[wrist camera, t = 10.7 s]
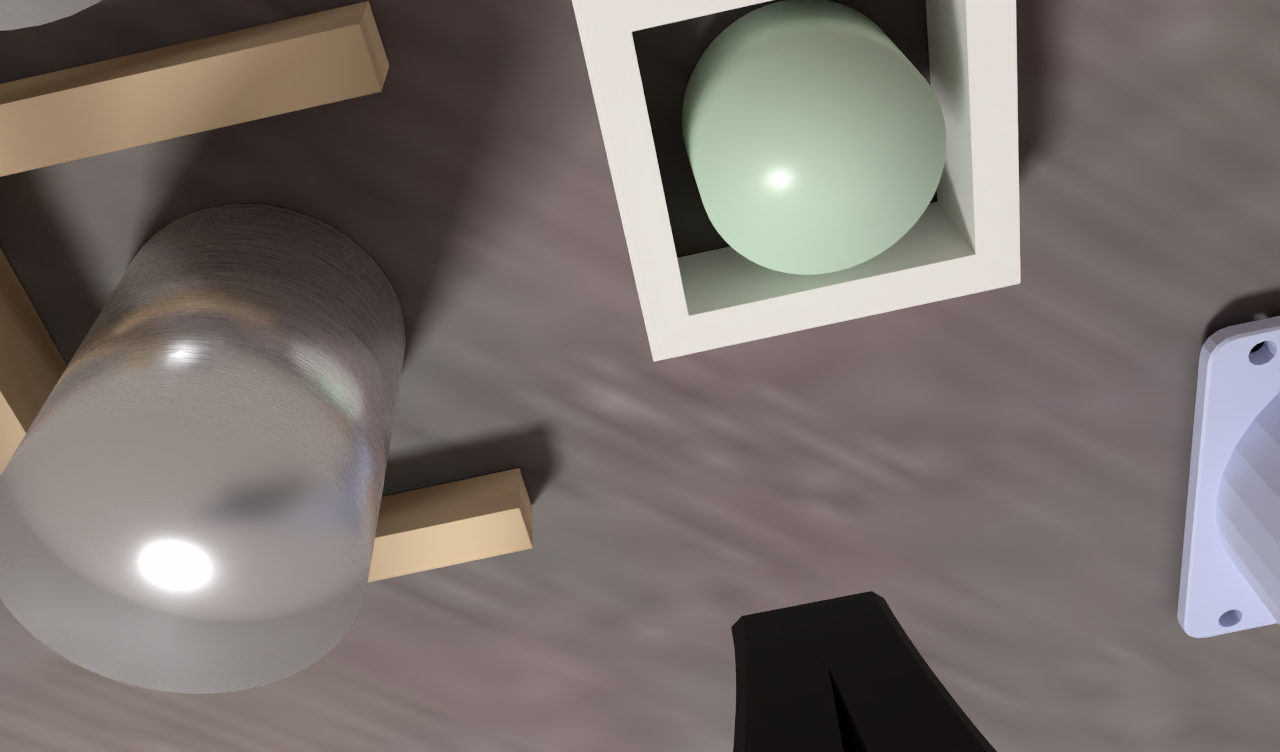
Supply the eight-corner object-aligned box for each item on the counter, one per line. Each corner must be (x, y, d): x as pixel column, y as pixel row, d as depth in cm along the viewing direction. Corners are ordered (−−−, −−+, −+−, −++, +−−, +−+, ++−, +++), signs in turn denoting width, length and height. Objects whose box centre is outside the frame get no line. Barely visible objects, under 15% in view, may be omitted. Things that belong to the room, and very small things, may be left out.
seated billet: (353, 175, 19) (292, 376, 14) (439, 412, 21) (413, 654, 16) (67, 238, 19) (-96, 460, 14) (187, 466, 22) (86, 722, 16)
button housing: (965, -134, 17) (1014, -108, 15) (978, 229, 20) (1020, 283, 19) (565, -44, 17) (570, -9, 15) (642, 301, 20) (653, 361, 19)
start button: (899, -26, 17) (940, 11, 16) (914, 193, 19) (952, 246, 18) (662, 26, 17) (677, 70, 16) (701, 238, 19) (718, 296, 18)
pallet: (97, -838, 12) (31, -912, 11) (531, 507, 23) (533, 577, 21) (-609, -659, 13) (-783, -703, 11) (138, 589, 23) (108, 665, 21)
